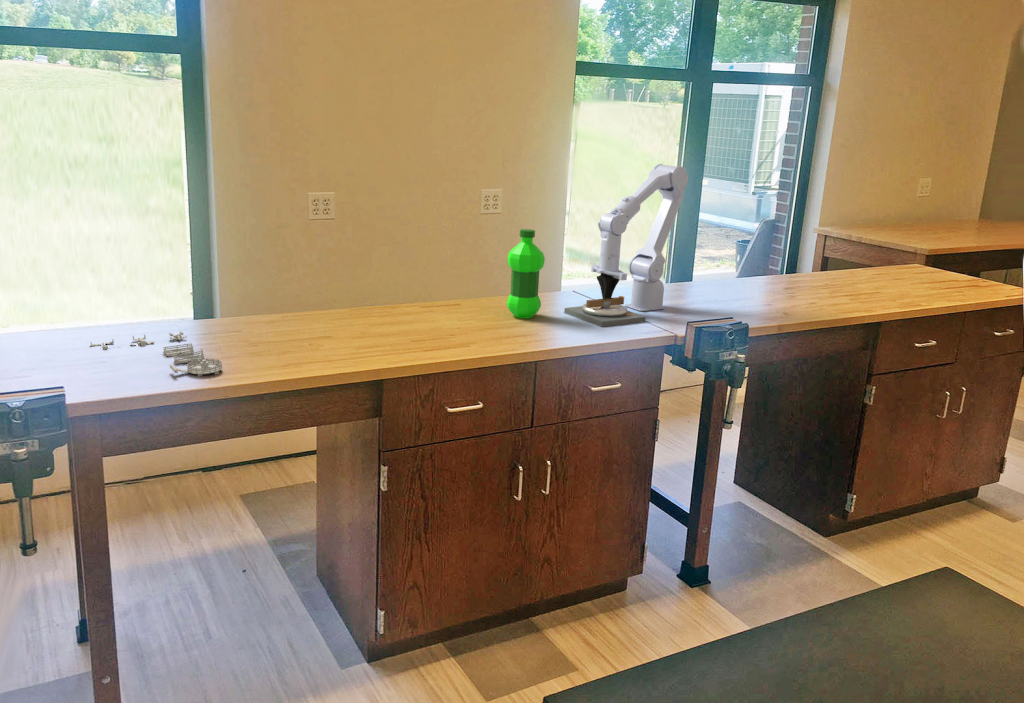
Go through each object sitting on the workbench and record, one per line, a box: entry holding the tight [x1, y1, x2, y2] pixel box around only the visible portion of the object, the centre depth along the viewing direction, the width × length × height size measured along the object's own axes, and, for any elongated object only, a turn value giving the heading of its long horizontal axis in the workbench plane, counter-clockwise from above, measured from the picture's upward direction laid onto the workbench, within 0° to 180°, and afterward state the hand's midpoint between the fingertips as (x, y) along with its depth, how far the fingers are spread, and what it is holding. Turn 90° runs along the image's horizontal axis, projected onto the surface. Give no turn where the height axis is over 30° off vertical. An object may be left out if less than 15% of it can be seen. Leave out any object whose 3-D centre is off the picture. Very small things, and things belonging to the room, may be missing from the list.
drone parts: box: [90, 330, 223, 377], centre depth 199 cm, size 23×35×3 cm, turn 33°
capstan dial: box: [582, 295, 628, 317], centre depth 258 cm, size 13×13×4 cm
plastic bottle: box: [506, 228, 545, 319], centre depth 252 cm, size 10×10×25 cm
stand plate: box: [563, 305, 646, 328], centre depth 259 cm, size 16×18×2 cm
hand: (606, 299), depth 263 cm, fingers closed
